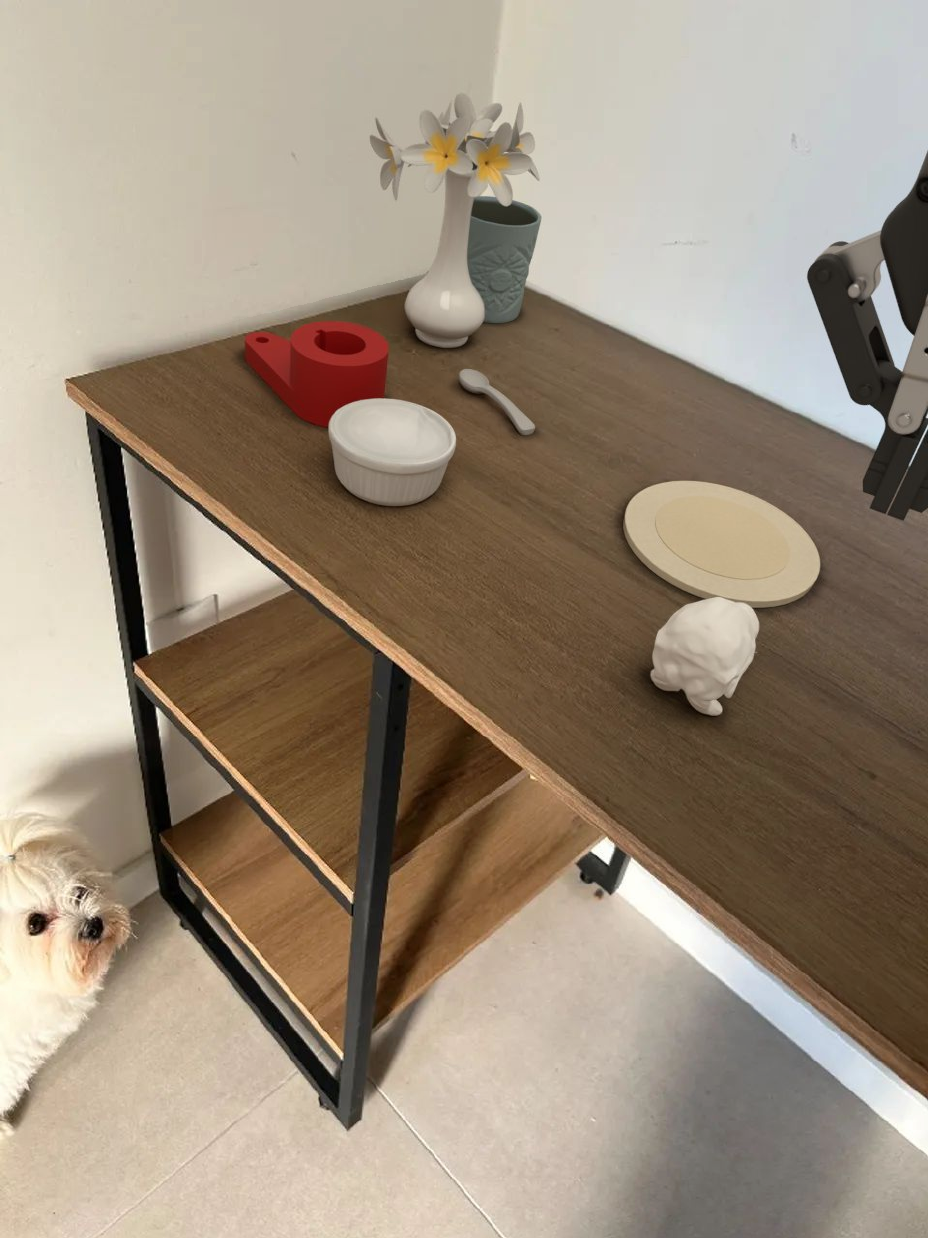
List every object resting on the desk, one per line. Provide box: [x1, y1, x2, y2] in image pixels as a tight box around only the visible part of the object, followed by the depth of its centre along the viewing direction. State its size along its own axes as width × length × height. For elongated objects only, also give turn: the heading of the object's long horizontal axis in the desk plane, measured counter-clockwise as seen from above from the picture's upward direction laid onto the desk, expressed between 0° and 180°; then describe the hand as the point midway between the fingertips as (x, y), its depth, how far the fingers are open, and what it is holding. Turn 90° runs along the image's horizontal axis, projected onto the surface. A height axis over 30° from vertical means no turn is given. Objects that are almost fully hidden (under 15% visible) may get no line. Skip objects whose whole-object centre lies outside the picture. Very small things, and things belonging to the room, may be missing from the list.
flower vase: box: [369, 92, 541, 349], centre depth 100 cm, size 13×18×25 cm
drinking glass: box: [467, 195, 542, 324], centre depth 113 cm, size 10×10×12 cm
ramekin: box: [328, 398, 457, 507], centre depth 84 cm, size 11×11×5 cm
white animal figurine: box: [649, 597, 760, 717], centre depth 69 cm, size 6×8×12 cm
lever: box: [244, 320, 390, 429], centre depth 94 cm, size 18×9×7 cm, turn 49°
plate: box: [622, 480, 821, 609], centre depth 85 cm, size 18×18×1 cm
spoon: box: [458, 368, 536, 436], centre depth 98 cm, size 3×12×2 cm, turn 35°
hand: (889, 505), depth 40 cm, fingers closed
